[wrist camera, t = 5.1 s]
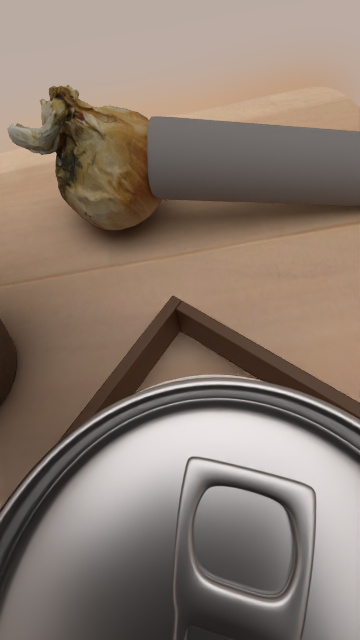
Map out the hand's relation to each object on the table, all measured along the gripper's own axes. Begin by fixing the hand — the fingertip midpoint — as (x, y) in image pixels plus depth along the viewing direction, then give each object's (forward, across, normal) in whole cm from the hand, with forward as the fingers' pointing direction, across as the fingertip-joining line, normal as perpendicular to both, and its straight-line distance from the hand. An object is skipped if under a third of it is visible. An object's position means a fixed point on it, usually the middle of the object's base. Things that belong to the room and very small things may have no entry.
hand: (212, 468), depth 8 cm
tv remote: (+14, -6, -9) cm, 18 cm away
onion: (+17, +6, -7) cm, 19 cm away
